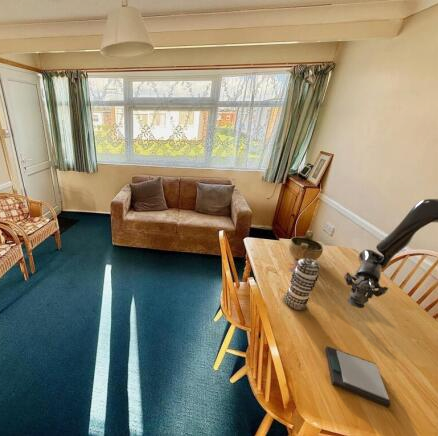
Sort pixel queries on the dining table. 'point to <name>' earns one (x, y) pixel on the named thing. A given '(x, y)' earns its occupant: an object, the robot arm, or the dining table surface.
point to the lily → (294, 266)
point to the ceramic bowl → (305, 247)
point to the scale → (356, 376)
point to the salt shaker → (359, 295)
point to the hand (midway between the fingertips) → (361, 293)
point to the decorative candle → (302, 283)
